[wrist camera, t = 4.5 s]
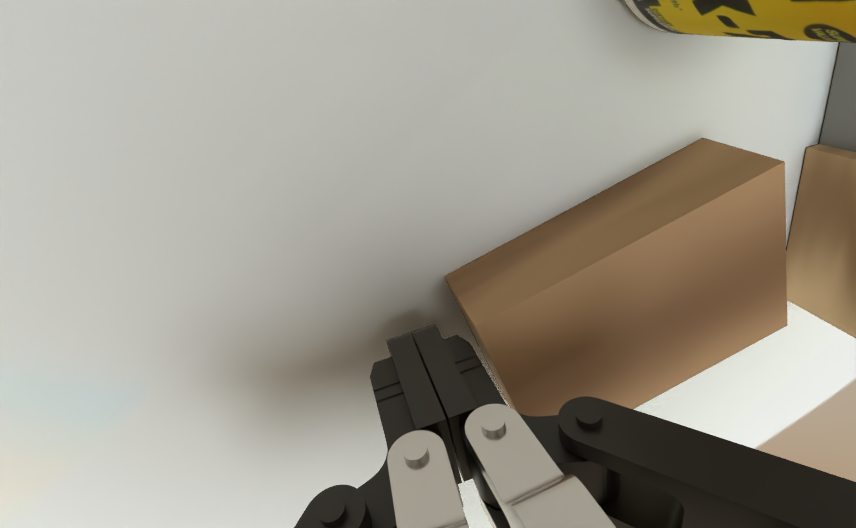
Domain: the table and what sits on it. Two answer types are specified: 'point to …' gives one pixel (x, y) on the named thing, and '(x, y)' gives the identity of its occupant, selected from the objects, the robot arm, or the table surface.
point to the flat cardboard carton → (635, 283)
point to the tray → (842, 102)
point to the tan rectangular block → (825, 238)
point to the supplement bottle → (753, 18)
